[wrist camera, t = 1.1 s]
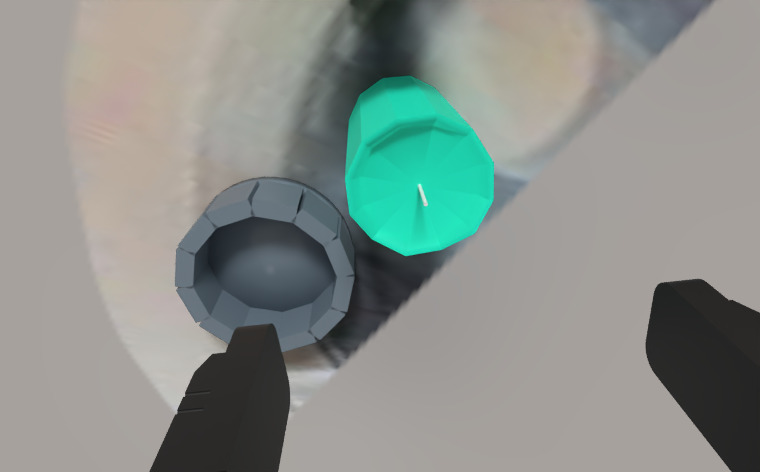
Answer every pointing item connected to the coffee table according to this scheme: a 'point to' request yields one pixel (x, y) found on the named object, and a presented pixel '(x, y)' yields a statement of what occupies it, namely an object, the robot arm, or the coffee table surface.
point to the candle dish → (267, 262)
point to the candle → (415, 168)
